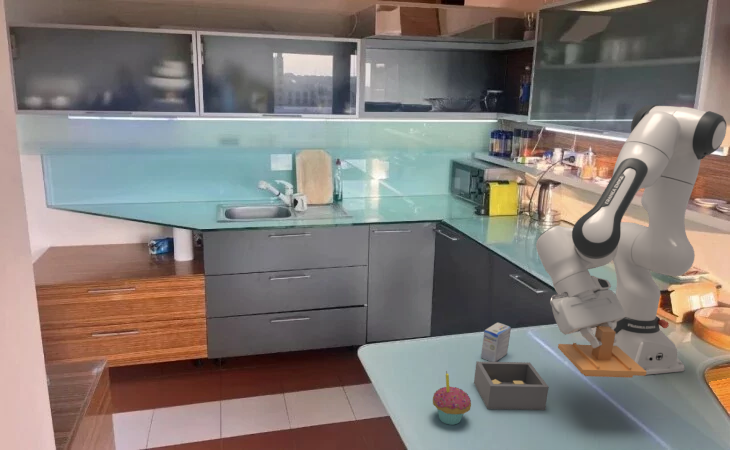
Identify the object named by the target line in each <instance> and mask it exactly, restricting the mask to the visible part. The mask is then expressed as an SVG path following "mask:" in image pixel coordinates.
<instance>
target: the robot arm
mask: <svg viewBox="0 0 730 450" xmlns="http://www.w3.org/2000/svg"><path fill="white" fill-rule="evenodd" d="M726 134H727V121H726V119H725V118H724V116H723V115H721V114H719V113H717V112H714V111H710V110H709V111H705V110H702V109H698V108H693V107H686V106H673V105H671V106H670V105H659V104H647V105H644V106H642V107H641V108H639V109H638V110H637V111H636V112H635V114H634V115H633V117H632V121H631V124H630V133H629V136H628V137H627V139H626V141H625V142H624V144H623V145H622V147H621V149H620V151H619V153H618V156H617V157H616V162H615V164H614V168H613V173H612V176H611V178H610V180H609V182H608V184H607V185H606V187H605V189H604V191H603V192H602V193H601V196H600V197H599V199H598V201H597V202H596V204H595V205H594V206H593V207H592V208H591V209H590V210H589V211H588V212H586V213H585V214H583V215H582V216H580V217H579V218H578V219H577V221H575V223H574V226H573V227H566V226H561V225H555V226H552V227H550V228H548V229H546V230H545V231H544V232H542V233H541V234H540V236H539V237H538V238H537V240H536V243H535V244H536V245H535V246H536V252H537V255H538V257H539V259H540V262H541V264H542V266H543V268H544V270H545V272H546V273H547V274H548V275H549V276H550V278H551V280H552V285H553V287H554V290H555V292H556V294H553V295H551V298H550V301H549V304H550V306H551V308H552V309H551V310H552V313H553V317H554V321H555V323H556V325H557V327H558V330H559V331H560V332H561V333H562V334H563V335H564V336H566V335H570V334H574V333H578V332H580V334H581V336H582V337H583V338H584V339H585V340H586V341H588V342H589V345H591V346H592V347H593V348H597V347H600V346H602V342H601V341H600V339H599V338H596V337H595V334H593V329H594V328H595V329H596V327H597V326H606V327H610V328H611V329H613V330H614V331H615V332H616V333H615V339H614V344H613V346H618V347H619V348H620V349H621V350H622V351H623V352H624V353H626V354H627V355H628V356H629V357H630V358H631V359H633V360H634V361H635V362H636V363H637V364H638V365H640V366H641V367H642V368H643V369H644V370H645V371H646V375H647V376H648V375H657V374H666V373H668V374H669V373H677V372H678V373H679V372H684V371H685V365H684V363H683V361H681V360H680V359H679V358H678V349H677V348H678V347H677V346H676V344H675V343H674V342H673V341H672V339H670V338H669V337H668V336H667V335H666V334H665V332H664V331H662V330H661V328H660V327H662V328H663V329H668V327H669V325H670V323H669V321H666V320H665V319H661V318H660V317H659V316H657V312H658V308H659V303H660V298H661V290H660V288H659V286H658V284H657V282H655V280H654V279H653V276H652V274H651V272H654V273H657V274H659V275H665V276H671V277H680V276H682V275H684V274H685V273H687V272H688V271H689V270H690V269H691V267H693V264H694V262H695V256H696V255H695V250H694V247H693V245H692V244H691V242H690V241H689V238H688V236H687V232H686V226H685V217H686V216H685V215H686V211H687V208H688V203H689V202H690V198H691V196H692V192H693V189H694V187H695V185H696V181H697V178H698V175H699V171H700V167H701V162H702V161H701V160H703V159H704V158H706V157H707V156H710V155H711V154H713V153H715V152H716V151H717V150H718V149H719V148H720V147H721V146H722V143H723V142H724V140H725V137H726ZM641 189H644V190H643V193H642V196H641V200H640V202H641V205H642V208H643V209H644V210H645V211H646V212H647V216H648V226H646V225H643V224H639V223H636V222H629V221H622V220H623V218H624V216H625V214H626V212H627V210H628V209H629V207H630V205H631V203H632V201H633V200H634V198H635V196H636V194H637V193H638V192H639V191H640V190H641ZM611 262H613V266H614V270H615V276H616V288H615V289H616V290H615V292H614V291H613V290H611V287H612V285H611V283H610V281H609V280H608V279H604V278H600V277H597V276H594V275H592V274H591V273H590V271H589V270H591V269H596V268H598V267H604V266H606V265H609V263H611Z"/></svg>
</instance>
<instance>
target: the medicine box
mask: <svg viewBox="0 0 730 450" xmlns="http://www.w3.org/2000/svg"><path fill="white" fill-rule="evenodd" d="M511 329H512V328H511V326H509V325H506V324H504V323H500V322H496V323H494V324H492V325H491V326H489V327H487V328H486V329H484V331H483V340H482V346H481V354H480V358H481V359H482V358H483V360H484V361H487V360H488V361H487V362H499V361H500V360H501V359H502V358H503V357H505V356H506V355H508V350H509V343H510V338H511V337H510V336H511Z"/></svg>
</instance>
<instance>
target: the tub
mask: <svg viewBox="0 0 730 450" xmlns="http://www.w3.org/2000/svg"><path fill="white" fill-rule="evenodd" d="M473 379H474V380H473V384H474V386H475V388H476V390H477V392H478V393H479V396H480V398H481V399H482V402H483V403H484V405H485V406H486V409H487V410H524V411H525V410H529V411H530V410H531V411H532V410H534V411H535V410H536V411H539V410H540V411H541V410H543V411H545V410H546V406H547V401H548V395H549V394H548V393H549V385H548V384H547V383H546V382H545V380H544V378H543V377H542V376H541V374H539V372H538V371H537V369H536V368H535V367H534V365H533V364H532V363H531V362H528V361H527V362H525V361H524V362H522V361H521V362H518V361H514V362H513V361H512V362H511V361H497V362H490V361H476V363H475V369H474V378H473Z"/></svg>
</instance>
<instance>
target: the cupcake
mask: <svg viewBox="0 0 730 450" xmlns="http://www.w3.org/2000/svg"><path fill="white" fill-rule="evenodd" d="M449 376H450V375H449V373H448V371H447V370H446V371H445V384H446V385H445V386H444V387H440V388H439V389H437V390H436V391H435V392H434V393H433V396H432V405H433V406H434V407H435V408H436V410H437V413H438V414H437V415H438V418H439V420H440V421H441V422H442V423H444V424H447V425H449V426H451V425H452V426H453V425H457V424H459V423H460V422H461V420H462V418H463V416H464V414H466V413H467V412H469V411H471V407H472V401H471V397H470V396H469V394H468V393H467V392H466V391H464V390H463V389H462V388H459V387H454V386H450V377H449Z"/></svg>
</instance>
